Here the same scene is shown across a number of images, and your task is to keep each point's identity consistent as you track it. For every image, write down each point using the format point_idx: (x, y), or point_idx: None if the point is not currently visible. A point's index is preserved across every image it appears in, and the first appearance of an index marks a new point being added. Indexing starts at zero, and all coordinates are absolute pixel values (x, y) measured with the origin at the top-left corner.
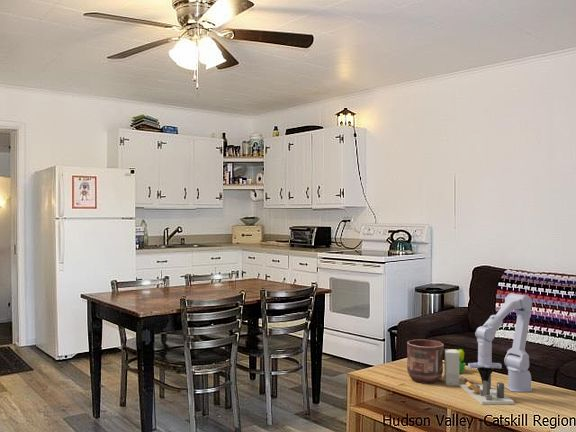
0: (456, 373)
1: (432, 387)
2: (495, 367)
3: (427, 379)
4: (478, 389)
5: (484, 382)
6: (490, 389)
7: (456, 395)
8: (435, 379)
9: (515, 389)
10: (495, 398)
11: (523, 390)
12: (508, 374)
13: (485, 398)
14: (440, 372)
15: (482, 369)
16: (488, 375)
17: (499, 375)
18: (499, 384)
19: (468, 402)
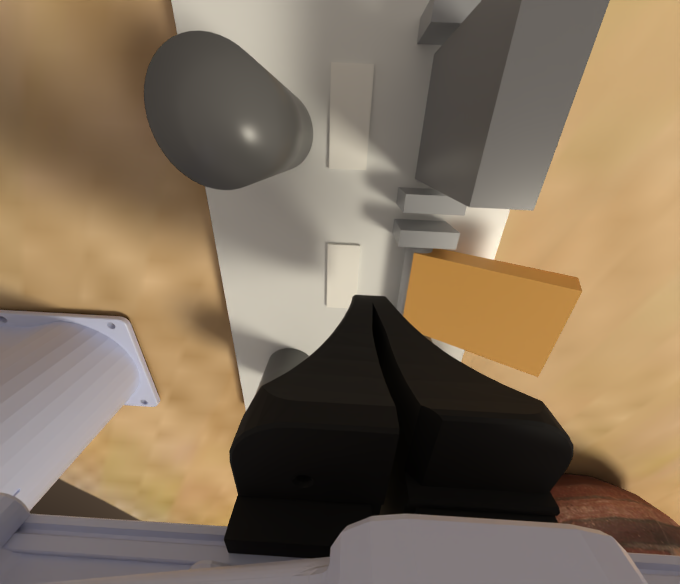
0: None
1: (611, 425)
2: (100, 539)
3: (616, 494)
4: (457, 259)
5: (558, 118)
6: (282, 338)
7: (590, 282)
8: (556, 492)
9: (94, 334)
10: (355, 68)
11: (40, 320)
12: (57, 463)
13: None
14: None
15: (486, 494)
16: (347, 351)
17: (151, 513)
18: (250, 58)
19: (656, 73)
